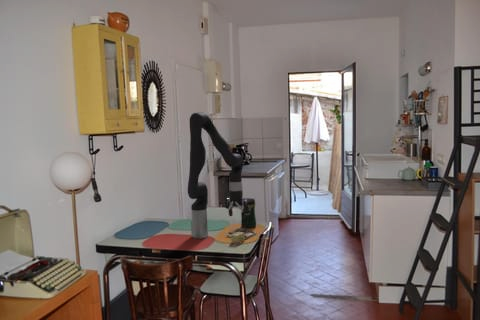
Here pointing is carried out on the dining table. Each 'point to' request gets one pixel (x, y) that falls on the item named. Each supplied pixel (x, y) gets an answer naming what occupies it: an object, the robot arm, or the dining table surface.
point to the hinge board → (246, 233)
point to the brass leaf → (237, 237)
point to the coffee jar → (249, 214)
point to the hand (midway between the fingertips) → (237, 217)
